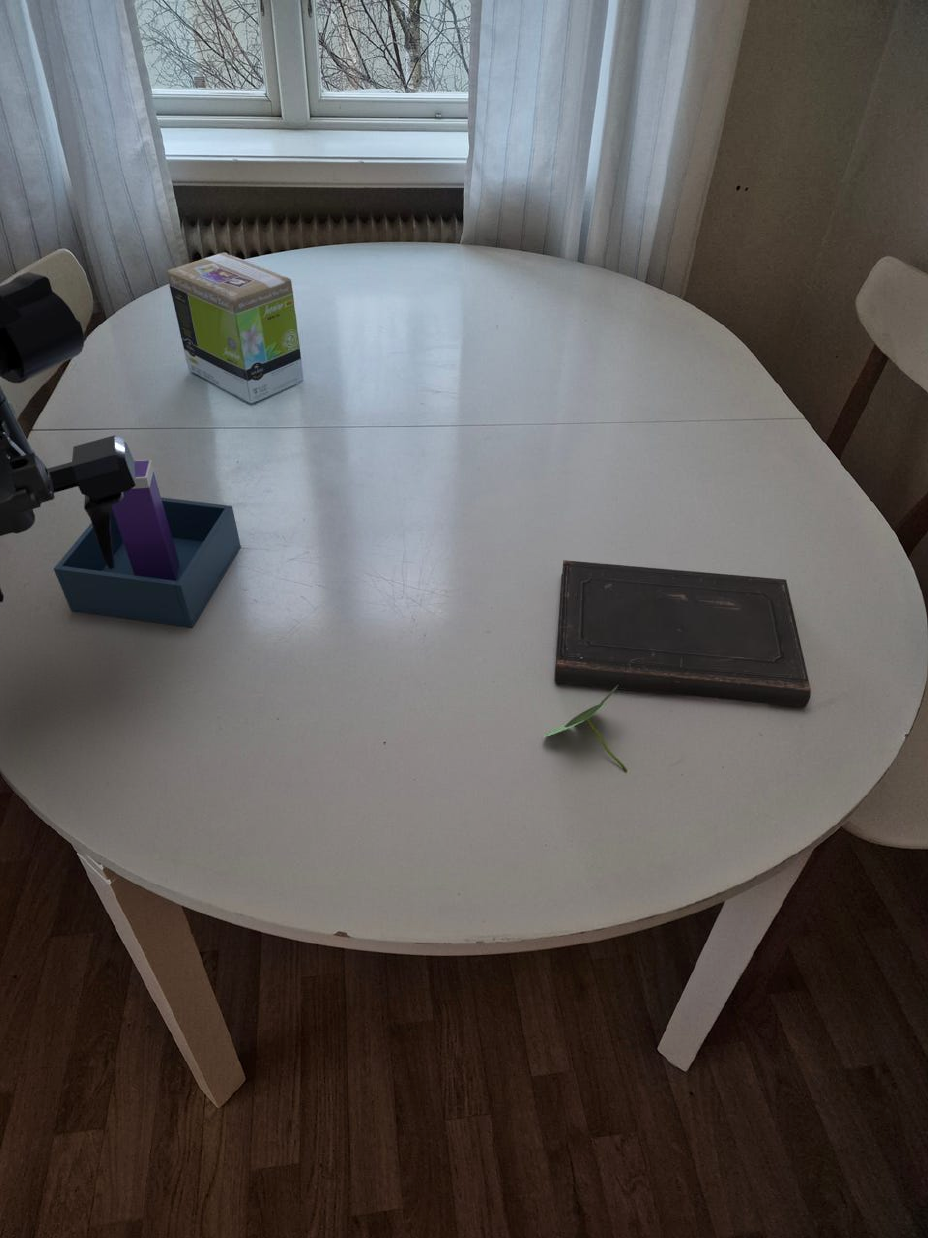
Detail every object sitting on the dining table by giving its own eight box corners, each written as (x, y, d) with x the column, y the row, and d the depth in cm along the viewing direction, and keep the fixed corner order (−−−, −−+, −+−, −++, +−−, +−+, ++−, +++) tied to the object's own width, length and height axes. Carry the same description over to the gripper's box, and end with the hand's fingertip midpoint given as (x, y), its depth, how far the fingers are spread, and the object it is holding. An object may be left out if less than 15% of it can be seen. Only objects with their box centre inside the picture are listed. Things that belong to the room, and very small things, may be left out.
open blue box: (70, 610, 88) (53, 568, 84) (129, 532, 97) (116, 491, 93) (192, 627, 86) (180, 585, 82) (241, 546, 95) (232, 505, 92)
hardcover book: (561, 576, 92) (563, 559, 91) (780, 595, 90) (786, 579, 89) (553, 686, 81) (556, 669, 79) (805, 711, 79) (812, 694, 77)
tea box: (307, 380, 123) (293, 277, 113) (250, 406, 118) (231, 300, 107) (241, 347, 130) (224, 248, 120) (185, 371, 125) (162, 268, 115)
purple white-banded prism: (136, 584, 90) (101, 479, 81) (140, 565, 92) (107, 461, 83) (176, 581, 90) (146, 477, 81) (180, 562, 92) (151, 459, 84)
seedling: (589, 786, 78) (549, 726, 79) (664, 741, 76) (622, 679, 77) (576, 808, 72) (533, 741, 72) (658, 759, 69) (612, 691, 70)
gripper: (-202, 487, 55) (-75, 673, 64) (91, 409, 59) (172, 596, 68) (-158, 429, 64) (-53, 599, 73) (94, 364, 68) (165, 534, 77)
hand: (57, 583), depth 72 cm, fingers open, 9 cm apart
